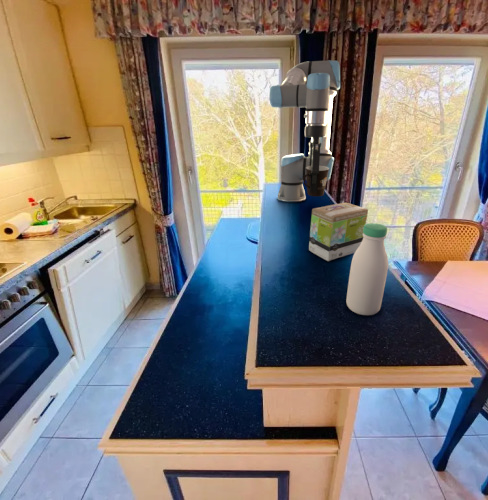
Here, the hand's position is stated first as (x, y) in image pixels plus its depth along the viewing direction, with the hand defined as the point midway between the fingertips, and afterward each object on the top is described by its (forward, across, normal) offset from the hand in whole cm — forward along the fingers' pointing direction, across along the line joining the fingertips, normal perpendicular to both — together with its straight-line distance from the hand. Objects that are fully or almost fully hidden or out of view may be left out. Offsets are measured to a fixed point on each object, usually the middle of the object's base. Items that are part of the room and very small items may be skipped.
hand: (312, 189), depth 108 cm
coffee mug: (+2, 0, 0) cm, 2 cm away
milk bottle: (+15, +54, +8) cm, 57 cm away
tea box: (+15, +24, +6) cm, 29 cm away
